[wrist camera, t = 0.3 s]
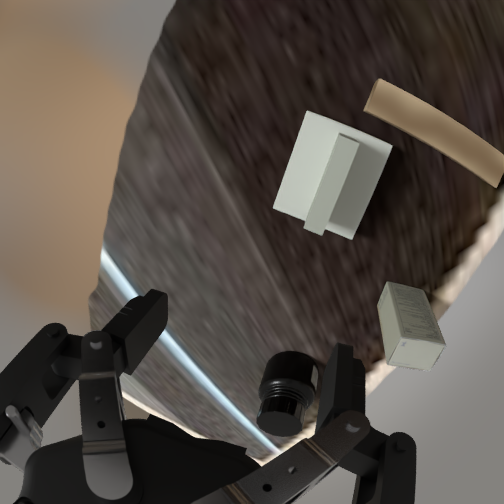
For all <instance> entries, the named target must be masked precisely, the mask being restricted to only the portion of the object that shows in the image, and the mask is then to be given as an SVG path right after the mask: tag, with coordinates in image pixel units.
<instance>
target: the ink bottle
mask: <svg viewBox="0 0 504 504" xmlns="http://www.w3.org/2000/svg"><path fill="white" fill-rule="evenodd" d="M317 380H318V367H317V365H316V363H315V362H314V361H313V360H312V359H310V358H309V357H307V356H306V355H303V354H301V353H297V352H292V351H286V352H281V353H278V354H276V355H274V356H273V357H272V358H271V359H270V360H269V361H268V363H267V365H266V368H265V372H264V375H263V378H262V381H261V384H260V387H259V397H260V400H261V401H262V403H261V406H260V409H259V412H258V415H257V422H256V423H257V424H258V426H259V428H260V429H262V430H263V431H265V432H266V433H269V434H271V435H274V436H281V437H288V436H293V435H297V434H298V433H299V432H300V431H302V427H303V423H304V417H305V412H306V410H307V409H308V408H309V407H310V406H311V405H312V404H313V402H314V399H315V394H316V387H317Z"/></svg>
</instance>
